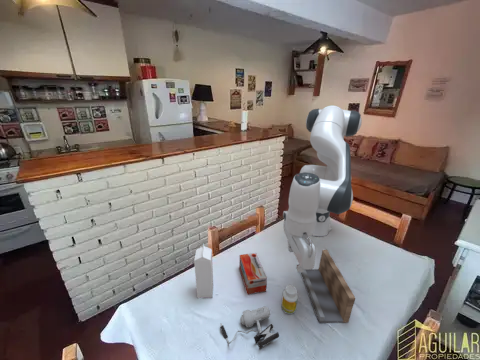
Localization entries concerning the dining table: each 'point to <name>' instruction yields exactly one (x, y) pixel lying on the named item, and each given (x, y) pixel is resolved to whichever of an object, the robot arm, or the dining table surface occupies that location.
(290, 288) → the supplement bottle
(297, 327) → the dining table surface
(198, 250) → the milk
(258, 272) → the medicine box
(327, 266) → the board
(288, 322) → the dining table surface
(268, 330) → the clip-on lamp
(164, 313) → the dining table surface
